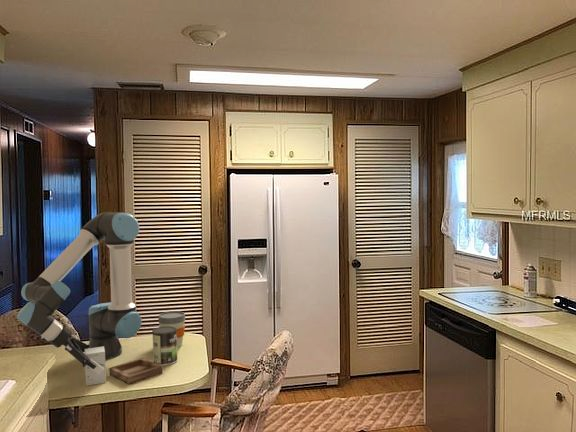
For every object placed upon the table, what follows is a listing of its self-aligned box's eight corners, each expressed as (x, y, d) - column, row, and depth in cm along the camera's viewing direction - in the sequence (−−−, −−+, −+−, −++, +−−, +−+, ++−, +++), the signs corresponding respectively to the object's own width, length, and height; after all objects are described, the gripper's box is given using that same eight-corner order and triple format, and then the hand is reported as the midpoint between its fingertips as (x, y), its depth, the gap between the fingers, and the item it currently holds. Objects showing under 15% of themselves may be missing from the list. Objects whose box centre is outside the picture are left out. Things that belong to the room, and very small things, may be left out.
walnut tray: (109, 375, 200) (109, 367, 200) (142, 364, 211) (142, 357, 211) (128, 385, 190) (128, 377, 190) (162, 373, 201) (162, 366, 201)
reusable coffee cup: (158, 342, 239) (157, 312, 238) (184, 340, 243) (183, 310, 242) (159, 351, 227) (158, 319, 226) (187, 348, 231) (186, 316, 230)
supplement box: (86, 386, 190) (84, 354, 189) (85, 379, 196) (84, 348, 195) (106, 383, 192) (105, 351, 192) (105, 376, 199) (104, 345, 198)
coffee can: (181, 357, 218) (180, 326, 217) (171, 366, 208) (170, 333, 207) (159, 356, 221) (158, 325, 219) (148, 365, 210) (147, 332, 209)
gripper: (49, 332, 198) (91, 362, 205) (48, 352, 175) (95, 385, 182) (63, 317, 200) (104, 348, 207) (64, 335, 177) (110, 368, 184)
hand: (100, 365), depth 195 cm, fingers open, 13 cm apart
